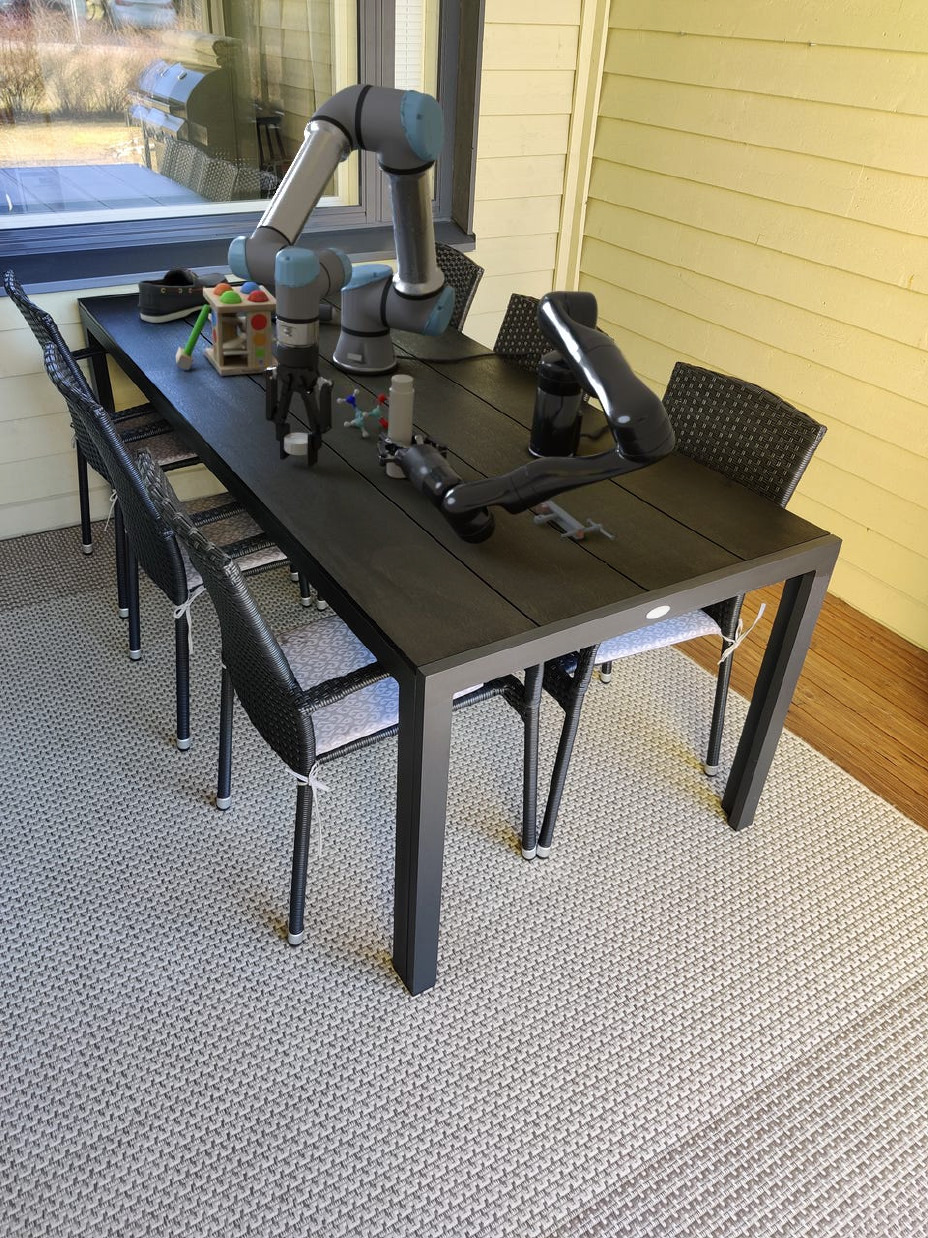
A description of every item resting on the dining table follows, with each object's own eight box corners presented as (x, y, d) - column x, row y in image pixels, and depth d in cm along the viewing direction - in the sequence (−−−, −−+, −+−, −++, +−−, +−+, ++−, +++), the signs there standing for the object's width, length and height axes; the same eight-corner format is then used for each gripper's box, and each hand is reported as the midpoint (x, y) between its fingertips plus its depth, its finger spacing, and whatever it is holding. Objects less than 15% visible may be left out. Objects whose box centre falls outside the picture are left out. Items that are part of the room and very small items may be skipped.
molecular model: (383, 429, 198) (367, 381, 197) (344, 444, 202) (327, 397, 200) (405, 426, 209) (389, 380, 207) (367, 440, 212) (351, 395, 211)
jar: (388, 466, 193) (392, 372, 182) (411, 469, 193) (416, 375, 182) (384, 476, 189) (388, 381, 178) (408, 479, 189) (413, 383, 178)
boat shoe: (248, 301, 272) (246, 262, 267) (158, 325, 248) (153, 283, 243) (214, 293, 278) (211, 255, 272) (123, 315, 254) (117, 274, 248)
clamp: (523, 504, 179) (568, 495, 184) (522, 515, 180) (566, 506, 185) (570, 543, 169) (616, 532, 173) (569, 554, 170) (614, 543, 174)
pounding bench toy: (183, 379, 220) (176, 299, 210) (169, 357, 231) (162, 280, 221) (282, 371, 230) (280, 294, 220) (264, 350, 240) (262, 276, 230)
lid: (290, 457, 184) (290, 445, 183) (279, 445, 188) (279, 434, 186) (317, 453, 186) (317, 441, 185) (306, 441, 190) (306, 430, 189)
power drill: (344, 304, 276) (335, 327, 259) (277, 298, 275) (264, 321, 258) (344, 285, 273) (335, 306, 256) (277, 279, 272) (264, 300, 255)
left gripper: (242, 337, 175) (246, 457, 188) (334, 357, 170) (332, 478, 183) (263, 326, 181) (266, 443, 194) (353, 345, 176) (350, 463, 189)
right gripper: (392, 496, 176) (358, 456, 189) (463, 486, 182) (427, 448, 194) (393, 458, 172) (359, 420, 184) (467, 449, 178) (429, 412, 190)
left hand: (298, 460), depth 188 cm, fingers closed on lid, 5 cm apart
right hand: (394, 434), depth 189 cm, fingers closed on jar, 4 cm apart
